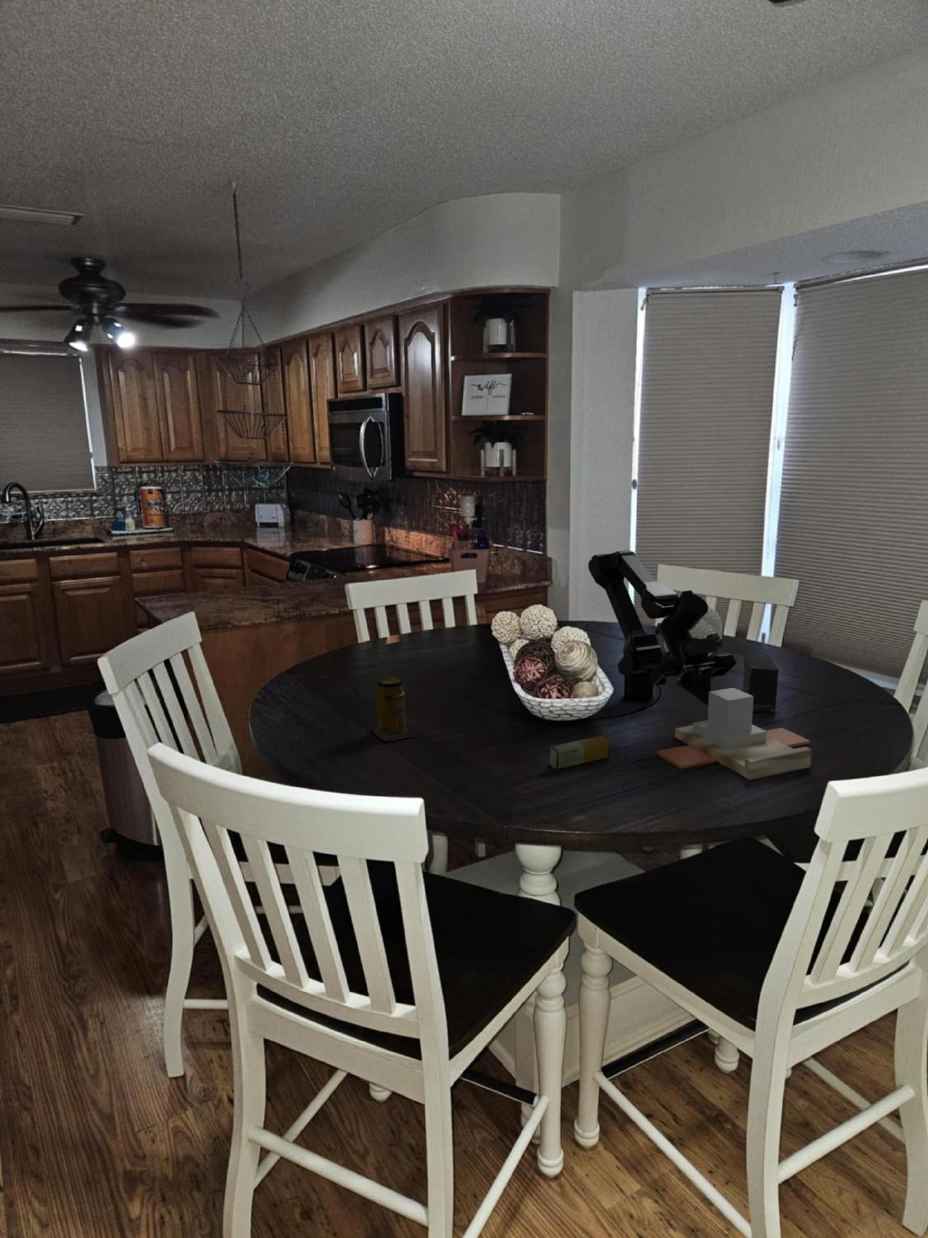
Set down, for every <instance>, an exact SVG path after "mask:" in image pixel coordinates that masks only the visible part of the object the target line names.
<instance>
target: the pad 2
mask: <svg viewBox="0 0 928 1238" xmlns="http://www.w3.org/2000/svg"><path fill="white" fill-rule="evenodd" d="M766 731H767V735H766V736H768V737H770V738H772V739H774V740H777V741H779V742H781V743H783V744H785V745H787V746H789V747H791V748H794V747H798V746H804V745H810V744H811V740H810V739H807V738H805V737H803V736H802V735H798V733H797V734H796V733H795V732H792V731H790V730H787V729H785V728H783V727H778V728H773V729H768V730H766Z"/></svg>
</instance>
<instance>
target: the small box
mask: <svg viewBox="0 0 928 1238" xmlns="http://www.w3.org/2000/svg"><path fill="white" fill-rule="evenodd" d="M743 658H744V659H743V675H742V686H741V687H742V688H741V689H742V690H741V691H742V692H745V693H747V694H749V695H752V696H753V713H765V714H766V713H769V714H775V713H776V708H777V693H778V682H779V681H778V680H779V668H778V666H777V665H776V663H775V662H774V661H773V658H772V657H768V656H767V657H765V656H753V655H752V656H749V655H745V656H744V657H743Z"/></svg>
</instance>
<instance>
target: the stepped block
mask: <svg viewBox="0 0 928 1238" xmlns="http://www.w3.org/2000/svg"><path fill="white" fill-rule="evenodd" d="M753 713H754V712H753V696H752V695H749V694H747V693H745V692H742V690H740V689H737V688H735V687H731V688H730V687H729V688H725V689H724V688H723V689H718V690H711V691H710V692H709V702H708V708H707V720H701V721H696V722H693V723H692V725H693V732H694V733H696V734H698V735H700V736H701V737H703V738H705V739H707V740H709V741H711V742H713V743H714V744H716V745H718V746H720V747H722V748H724V749H727V748H732V747H737V746H742V745H748V744H753V743H758V742H763V741H766V735H767V730H764V729H762V728H760V727H758V726H756V725H754V724H753Z"/></svg>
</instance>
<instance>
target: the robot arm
mask: <svg viewBox="0 0 928 1238" xmlns="http://www.w3.org/2000/svg"><path fill="white" fill-rule="evenodd" d="M587 566H588V572H589V573H590V576H591V577H592V578H593V581H594V582H595V583H596V584H597V585H599V586H600V587H601V588H602V589H603V590H604V591H605V593H606V595H607V597H608V600H609V603H610V605H611V608H612V610H613V612H614V615H615V618H616V620H617V622H618V623H617V624H618V625H619V628H620V630H621V633H622V635H623V638H624V643H623V649H622V653H623V656H622V658H621V659H620V660H619V661H618V663H617V669H618V674H621V675H623V676H624V677H623V681H624V682H623V684H624V685H623V687H624V688H623V696H622V698H621V699H622V700H623V701H631V702H632V701H633V702H639V703H640V702H641V703H642V702H643V703H650V702H651V700H652V699H653V698H654V697H655V696H656V687H659V686H661V687H662V686H665V685H666V682H667V680H668V679H667V678H672V677H677V680H678V681H677V682H676V686H677V687H681V688H682V689H684V690H686V691H687V692H688V693H689V694H691V695H692V696H694V697H695V698H696V699H697V700H699V701H700V702H701V703H703V704H704V705H705V706H708V702H709V692H710V691H712V686H711V684H712V683H711V681H712V678H718V677H719V678H720V677H723V676H726V675H727V674H728V673H729V672H730V671H731V669H733V668H734V667H735V665H736V664H737V663H738V662H737V660H736V658H735V656H734V654H732V653H719V654H715V655H714V656H713V657H712V659H711V660H709V661H707V662H705V660H708V659H709V657H710V656H709V655H708V654H709V653H712V652H713V653H718V649H720V648H722V647H723V642H722V639H721V638H720V637H719V635H718V634H717V633H715V634H710V635H707V637H706V638H703V639H698V638H697V637H695V638H692V636H691V633H690V631H689V630H691V629H693V628H694V627H695V626H696V625H697V624H698V623H699V621H700V620H701V619H702V618H703V617H704V616H705V614H706V613H707V612H708V605H709V604H708V603H707V601H706V600H704V599H703V598H702V597H701V596H700V595H697V594H694V593H693V591H692V590H690V589H689V590H683V591H682V593H680V596H679V595H678V593H676V592H675V591H674V590H673V589H672V588H671V587H669V586H667V585H664V584H662V583H660V582H658V580H656V579H655V578H654V577H653V575H652V574H651V573H650V572H649V571H648V570H647V568H646V567H645V566H644V565H643V564H642V563H641V562H640V560H639V559H638V558H637V556H636V553H635V551H633V550H630V549H627V550H617V551H614V552H612V553H604V554H603V553H602V554H601V553H599V554H594V555H592V557H591V559H589V561H588V565H587ZM625 579H626V580H627V582H628V583H629V584H630V585H631V586H632V588H633V589H634V591H635V592H636V593H637V594H638V595H639V597H640V606H641V608H642V610H643V611H644V613H645V615H646V616H647V618H648V619H650V620H657V619H662V621H661V622H657V624H656V625H657V626H656V628H655V630H654V631H655V632H654V633H648V632H646V631H645V630H644V627H643V624H642V621H641V620H640V616H639V615H638V613H637V610H636V608H635V605H634V603H633V600H632V598H631V595H630V593H629V591H628V589H627V585H626V583H625ZM666 617H667V618H666ZM657 636H661V637H662V640H663V642H664V641H665V643H666V645H667V647H668V650H669V651H668V652H666V654H665V655H666V656H667V658H671V659H672V661H671V660H670V661H666V662H663V661H664V660H663V659H664V654H663V651H662V646H661V645H660V642H659V641H658V637H657ZM713 653H712V654H713Z"/></svg>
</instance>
